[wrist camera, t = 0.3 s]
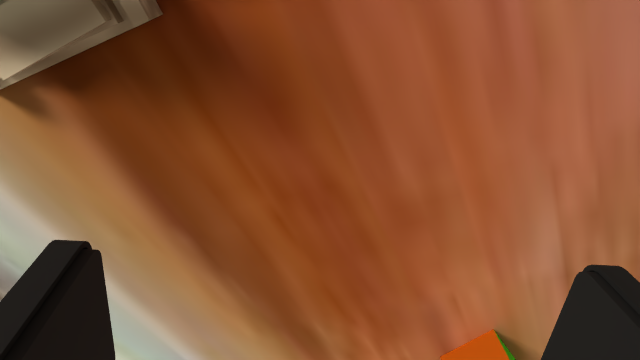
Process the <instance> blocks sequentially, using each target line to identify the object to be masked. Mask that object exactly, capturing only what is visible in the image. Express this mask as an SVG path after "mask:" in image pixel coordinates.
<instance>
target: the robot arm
mask: <svg viewBox="0 0 640 360" xmlns="http://www.w3.org/2000/svg"><path fill="white" fill-rule="evenodd" d="M0 360H115V350H114V342H113V335H112V328H111V321H110V314H109V306H108V299H107V292H106V285H105V278H104V271H103V263H102V257H101V253H100V251H99V250H92V247H91V245H90V243H89V242H87V241H69V240H54V241H52V242H51V243H49V244H48V246H47V247H46V248H45V249H44V250H43V252H42V253H41V254H40V255H39V256H38V258H37V259H36V260H35V261H34V262H33V263H32V265H31V266H30V267H29V268H28V269H27V271H26V272H25V273H24V274H23V275H22V277H21V278H20V279H19V280H18V281H17V283H16V284H15V285H14V286H13V287H12V288H11V290H10V291H9V292H8V293H7V294H6V296H5V297H4V298H3V299H2V300H1V302H0ZM541 360H640V283H639V282H638V281H637V280H636V279H635V278H634V277H633V276H632V275H631V274H630V273H629V272H628V271H627V270H625V269H624V268H622V267H620V266H609V265H589V266H587V267H586V268H584V270H583V272H579V273H578V274H577V275H576V277H575V279H574V282H573V284H572V286H571V289H570V291H569V294H568V296H567V298H566V301H565V303H564V305H563V308H562V310H561V313H560V315H559V317H558V320H557V322H556V325H555V327H554V329H553V332H552V334H551V336H550V339H549V341H548V344H547V346H546V348H545V351H544V353H543V356H542V358H541Z"/></svg>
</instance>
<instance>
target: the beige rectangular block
mask: <svg viewBox="0 0 640 360" xmlns="http://www.w3.org/2000/svg"><path fill="white" fill-rule="evenodd" d="M123 21H124V20H123V18H122V17H121V15H120V13H119V11H118V10H117V8H116V6H115V5H114V3H113V1H112V0H4V1H2V2H0V78H2V79H3V80H5V79H8V78H10V77H12V76H14V75H16V74H18V73H19V72H21V71H23V70H25V69H26V68H28V67H30V66H32V65H33V64H35V63H37V62H39V61H40V60H42V59H44V58H46V57H48V56H50V55H52V54H54V53H56V52H59V51H61V50H63V49H65V48H67V47H69V46H72V45H74V44H76V43H78V42H80V41H82V40H84V39H87V38H89V37H91V36H93V35H95V34H97V33H99V32H102V31H104V30H106V29H108V28H110V27H112V26H114V25H117V24H119V23H121V22H123Z"/></svg>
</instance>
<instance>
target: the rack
mask: <svg viewBox="0 0 640 360" xmlns="http://www.w3.org/2000/svg"><path fill="white" fill-rule="evenodd" d="M2 1H4V0H0V2H2ZM112 1H113V3H114V5H115V6H116V8H117V10H118V11H119V13H120V15H121V17H122V18H123V20H124V21H123V22H121V23H119V24H117V25H114V26H112V27H110V28H108V29H106V30H104V31H102V32H99V33H97V34H95V35H93V36H91V37H89V38H87V39H84V40H82V41H80V42H78V43H76V44H74V45H72V46H69V47H67V48H65V49H63V50H61V51H59V52H56V53H54V54H52V55H50V56H48V57H46V58H44V59H42V60H40V61H39V62H37V63H35V64H33V65H32V66H30V67H28V68H26V69H25V70H23V71H21V72H19V73H18V74H16V75H14V76H12V77H10V78H8V79H5V80H3V79H2V78H0V89H3V88H5V87H7V86H9V85H11V84H13V83H15V82H18V81H20V80H22V79H24V78H26V77H28V76H31V75H33V74H35V73H37V72H39V71H41V70H44V69H46V68H48V67H50V66H52V65H54V64H57V63H59V62H61V61H63V60H65V59H67V58H70V57H72V56H74V55H76V54H78V53H80V52H83V51H85V50H87V49H89V48H91V47H93V46H96V45H98V44H100V43H102V42H104V41H106V40H109V39H111V38H113V37H115V36H117V35H119V34H122V33H124V32H126V31H128V30H130V29H132V28H134V27H137V26H139V25H141V24H144V23H146V22H148V21H150V20H152V19H154V18H156V17H158V16H160V15H162V14H163V13H162V11H161V9H160V8H159V6H158V4H157V2H156V0H112Z"/></svg>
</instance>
